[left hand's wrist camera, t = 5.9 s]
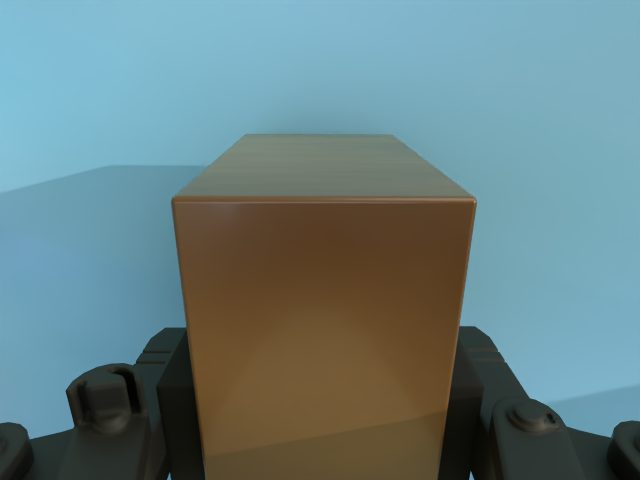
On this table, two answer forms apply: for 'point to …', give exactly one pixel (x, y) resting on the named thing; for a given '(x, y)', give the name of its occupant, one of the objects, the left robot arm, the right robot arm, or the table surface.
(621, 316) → the table surface
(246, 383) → the bar
